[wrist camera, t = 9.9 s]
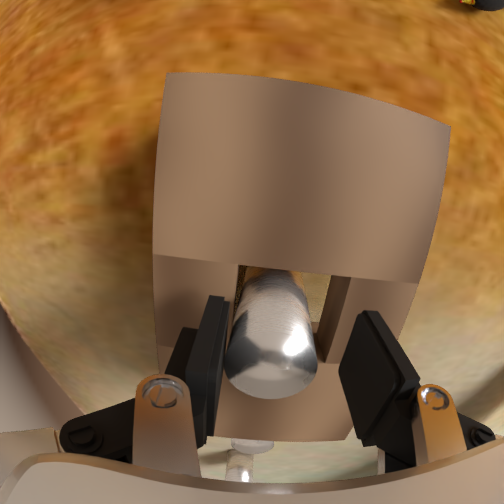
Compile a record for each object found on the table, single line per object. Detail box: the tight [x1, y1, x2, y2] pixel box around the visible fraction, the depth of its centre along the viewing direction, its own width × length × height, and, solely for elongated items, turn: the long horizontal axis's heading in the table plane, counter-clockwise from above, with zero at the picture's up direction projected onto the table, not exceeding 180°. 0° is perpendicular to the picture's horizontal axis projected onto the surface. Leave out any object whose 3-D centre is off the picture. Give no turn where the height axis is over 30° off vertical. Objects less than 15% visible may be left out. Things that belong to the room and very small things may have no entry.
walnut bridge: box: [153, 73, 451, 442], centre depth 15 cm, size 11×18×8 cm, turn 173°
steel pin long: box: [224, 266, 318, 399], centre depth 14 cm, size 3×3×11 cm
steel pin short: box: [225, 449, 254, 483], centre depth 25 cm, size 3×3×4 cm
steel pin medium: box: [231, 438, 274, 454], centre depth 20 cm, size 3×3×6 cm
